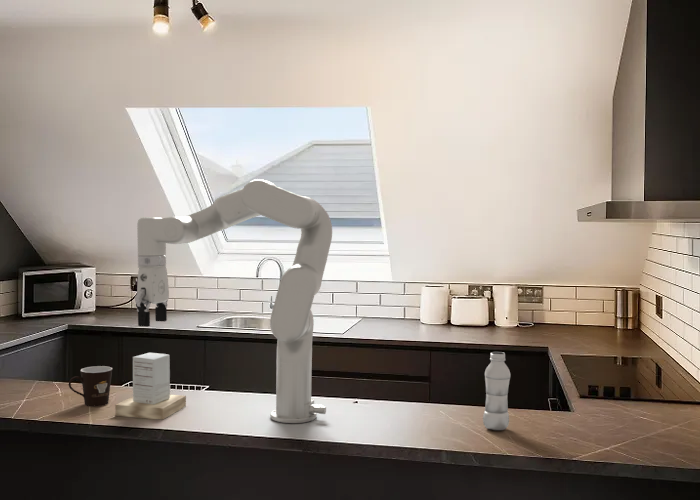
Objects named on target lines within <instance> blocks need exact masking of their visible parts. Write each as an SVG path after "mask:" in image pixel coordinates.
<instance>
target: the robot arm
mask: <svg viewBox="0 0 700 500" xmlns="http://www.w3.org/2000/svg"><path fill="white" fill-rule="evenodd" d="M259 216H263V217H265V218H266V219H271V220H273V221H275V222H278V223H280V224H282V225H284V226H286V227H290V228H292V229H300V232H301V233H300V238H299V242H298V245H297V247H296V253H295V256H294V260H293V263H292V265H291V266H290V267H289V268H288V269H287V270H286V271H285V272H284V274H283V275H282V276H281V279H280V282H279V285H278V289H277V293H276V295H275V298H274V299H275V301H274V302H273V307H272V311H271V315H270V317H269V318H270V319H269V328H270V331H271V333H272V335H273V336H274V337H275V338H276V339H277V341H276V342H277V343H276V372H275V373H276V384H275V386H276V388H275V389H276V390H275V392H276V396H275V403H276V404H275V406H276V407H275V409H273V410H272V411H271V412H270V414H269V415H270V419H271V420H273V421H275V422H278V423H282V424H283V423H284V424H301V423H308V422H311V421H314V420H316V418H317V414H318V415H319V414H320V415H325V414H326V413H327V407H326V406H325V405H323V404H317V403H315V398H313V399H312V370H313V369H312V368H313V367H312V364H313V363H312V362H313V361H312V360H313V359H312V358H313V337H314V322H315V321H314V315H313V312H312V310H311V309H312V305H313V303H314V302H313V301H314V300H315V299H314V298H315V295H317V294H318V292H319V291H320V290H321V286H322V282H323V277H324V273H325V269H326V264H327V261H328V257H329V256H328V255H329V252H330V249H331V243H332V239H333V226H332V224H333V223H332V221H331V220H332V219H331V218H330V215H329V214H328V212H327V210H325V208H324V207H323V206H322V205H321V204H320V203H319V202H318V201H316V200H315V199H314V198H312V197H309V196H305V195H304V196H303V195H299V194H296V193H294V192H291V191H289V190H286V189H284V188H282V187H278V186H276V184H275V183H273V182H271V181H269V180H266V179H265V180H264V179H260V178H259V179H258V178H257V179H256V178H255V179H253V180H250V181H248V182H247V183H246V184H245V185H244V187H243V188H240V189H237V190H235V191H232V192H228V193H227V194H224V195H221V196H219V197H218V198H216V199H215V200H214V202H213V203H212V204H211V205H209V206H207V207H206V208H204V209H203V208H202V209H201V210H198V211H196V212H194V213H191V214H188V215H186V216H184V215H183V216H168V217H156V216H155V217H153V216H152V217H140V218H139V219H137V226H136V227H137V268H138V273H137V288H136V289H137V292H136V295H135V296H134V301H135V307H136V312H137V326H139V327H143V328H144V327H147V328H149V327H150V326H151V313H150V311H149V310H150V307H151V304H152V305H156V306H155V308H154V309H155V310H154V311H155V312H154V313H155V315H154V317H155V322H167V320H168V317H167V315H168V314H167V310H168V309H167V307H168V300H169V299H170V290H169V288H170V287H169V275H168V270H167V244H170V245H182V244H190V243H193V242H195V241H196V242H197V241H199V240H200V239H203V238H207V237H209V236H211V235H213V234H216V233H219V232H221V231H223V230H226V229H229V228H231V227H233V226H236V225H238V224H241V223H243V222H246V221H247V220H251V219H254V218H256V217H259Z"/></svg>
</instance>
